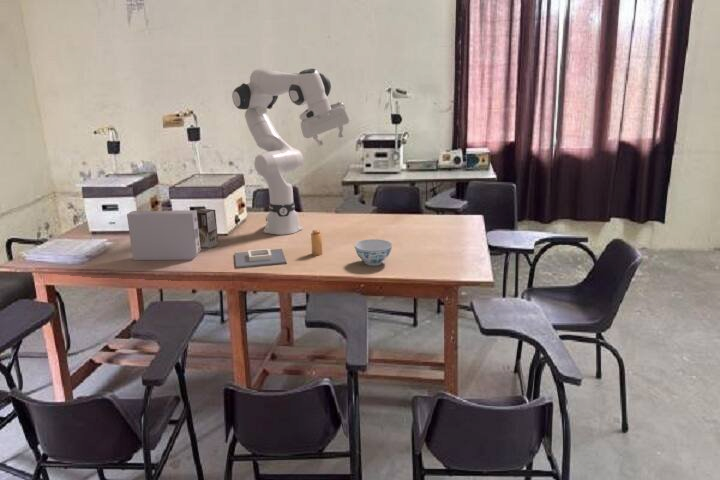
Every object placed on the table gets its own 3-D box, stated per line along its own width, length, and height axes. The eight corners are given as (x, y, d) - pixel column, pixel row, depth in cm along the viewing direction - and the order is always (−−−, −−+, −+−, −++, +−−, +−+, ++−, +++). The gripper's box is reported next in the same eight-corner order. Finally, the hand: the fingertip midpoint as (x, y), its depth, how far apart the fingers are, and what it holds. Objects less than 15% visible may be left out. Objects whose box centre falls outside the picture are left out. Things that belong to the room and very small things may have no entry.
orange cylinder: (311, 252, 252) (310, 229, 249) (321, 251, 252) (320, 229, 250) (312, 256, 247) (311, 232, 244) (323, 255, 248) (322, 231, 245)
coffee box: (219, 244, 266) (215, 209, 262) (210, 248, 261) (206, 212, 256) (203, 242, 270) (199, 207, 265) (193, 246, 264) (190, 211, 260)
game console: (138, 256, 252) (132, 210, 246) (201, 255, 251) (196, 210, 246) (132, 260, 247) (126, 214, 241) (197, 259, 246) (192, 213, 240)
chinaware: (357, 256, 245) (356, 239, 243) (393, 257, 244) (393, 239, 242) (352, 268, 231) (352, 250, 229) (391, 269, 229) (391, 250, 227)
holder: (234, 254, 251) (234, 248, 250) (281, 250, 255) (281, 244, 255) (236, 268, 234) (235, 261, 233) (286, 263, 239) (286, 257, 238)
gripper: (339, 101, 246) (350, 132, 250) (295, 117, 240) (306, 149, 244) (345, 100, 240) (355, 132, 244) (300, 116, 234) (311, 150, 238)
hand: (331, 141), depth 244 cm, fingers open, 8 cm apart
